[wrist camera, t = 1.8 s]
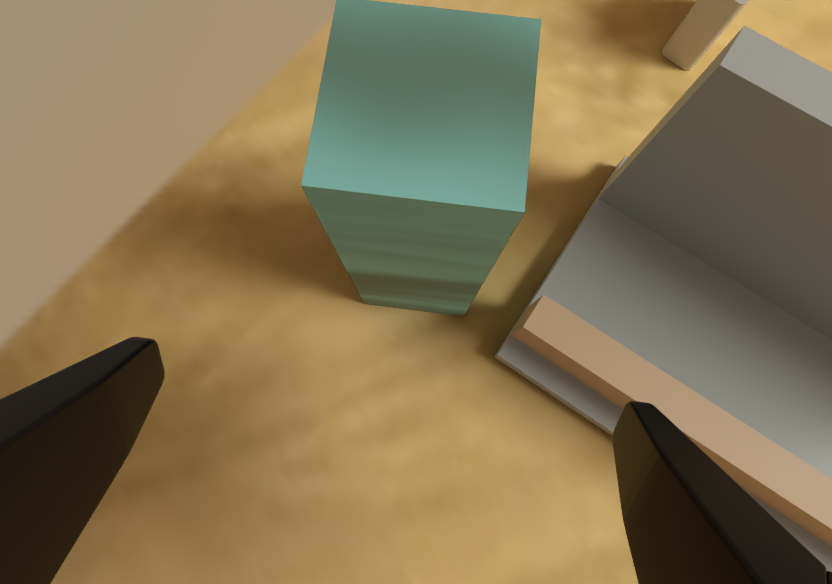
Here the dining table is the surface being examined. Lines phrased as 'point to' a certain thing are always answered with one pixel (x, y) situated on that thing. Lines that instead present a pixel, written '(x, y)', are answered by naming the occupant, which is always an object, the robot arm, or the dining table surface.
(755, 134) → the grey bookend
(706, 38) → the lighter
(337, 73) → the teal block
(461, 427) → the dining table surface
